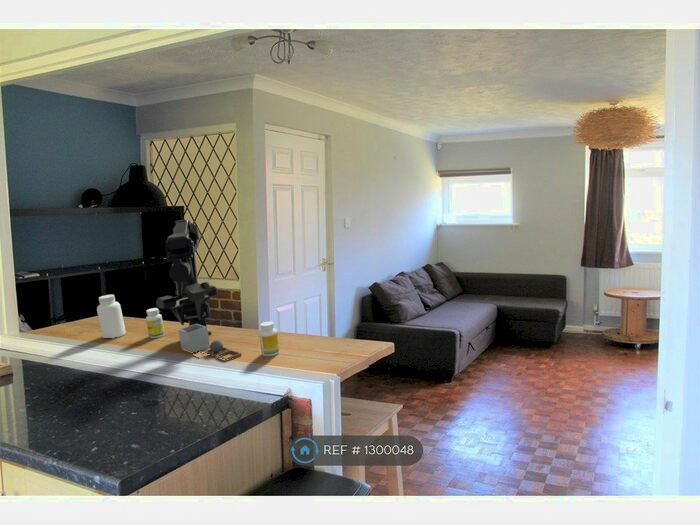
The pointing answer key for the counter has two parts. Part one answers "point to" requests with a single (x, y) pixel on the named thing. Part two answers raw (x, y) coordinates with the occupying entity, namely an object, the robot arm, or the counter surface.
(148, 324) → the supplement bottle
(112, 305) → the pill bottle
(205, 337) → the grey open box
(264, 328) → the supplement bottle
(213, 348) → the gray ball
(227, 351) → the holder
